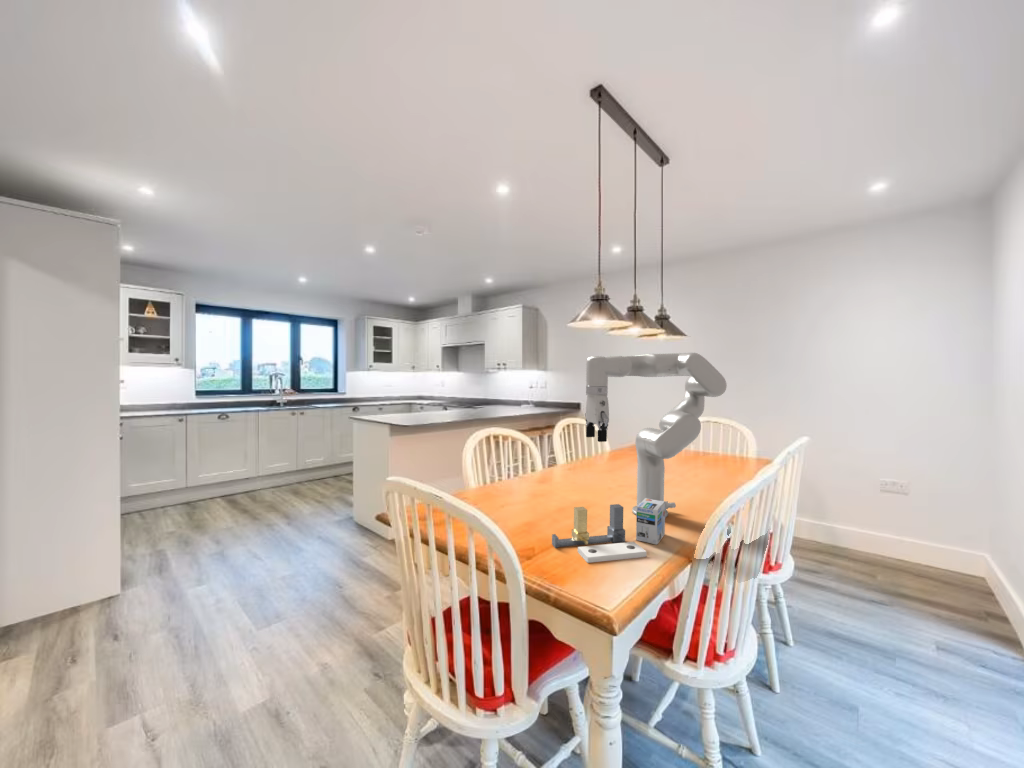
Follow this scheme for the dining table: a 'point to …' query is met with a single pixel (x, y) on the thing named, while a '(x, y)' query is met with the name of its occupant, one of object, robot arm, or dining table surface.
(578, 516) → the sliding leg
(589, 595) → the dining table surface
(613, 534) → the rail
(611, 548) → the hole plate
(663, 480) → the robot arm
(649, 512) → the light bulb box
